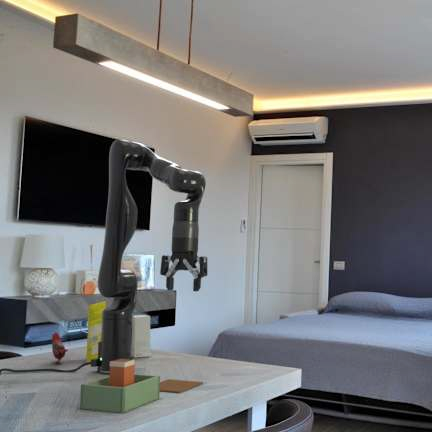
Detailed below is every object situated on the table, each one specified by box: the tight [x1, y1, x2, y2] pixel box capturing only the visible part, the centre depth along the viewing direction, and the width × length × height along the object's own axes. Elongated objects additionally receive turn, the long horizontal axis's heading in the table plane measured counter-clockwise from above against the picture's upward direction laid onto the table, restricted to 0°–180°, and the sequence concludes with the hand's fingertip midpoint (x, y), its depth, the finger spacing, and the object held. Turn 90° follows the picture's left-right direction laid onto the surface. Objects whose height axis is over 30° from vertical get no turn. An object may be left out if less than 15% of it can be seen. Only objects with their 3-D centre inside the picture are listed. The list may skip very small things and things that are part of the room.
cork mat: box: [159, 378, 204, 394], centre depth 174 cm, size 12×12×1 cm
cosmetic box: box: [131, 314, 151, 358], centre depth 220 cm, size 8×6×15 cm
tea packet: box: [109, 359, 136, 387], centre depth 155 cm, size 5×4×11 cm
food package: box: [85, 300, 107, 363], centre depth 212 cm, size 15×1×20 cm, turn 5°
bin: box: [79, 373, 161, 414], centre depth 155 cm, size 13×15×6 cm
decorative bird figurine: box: [51, 332, 69, 365], centre depth 203 cm, size 3×18×10 cm, turn 43°
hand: (183, 290), depth 177 cm, fingers open, 8 cm apart
